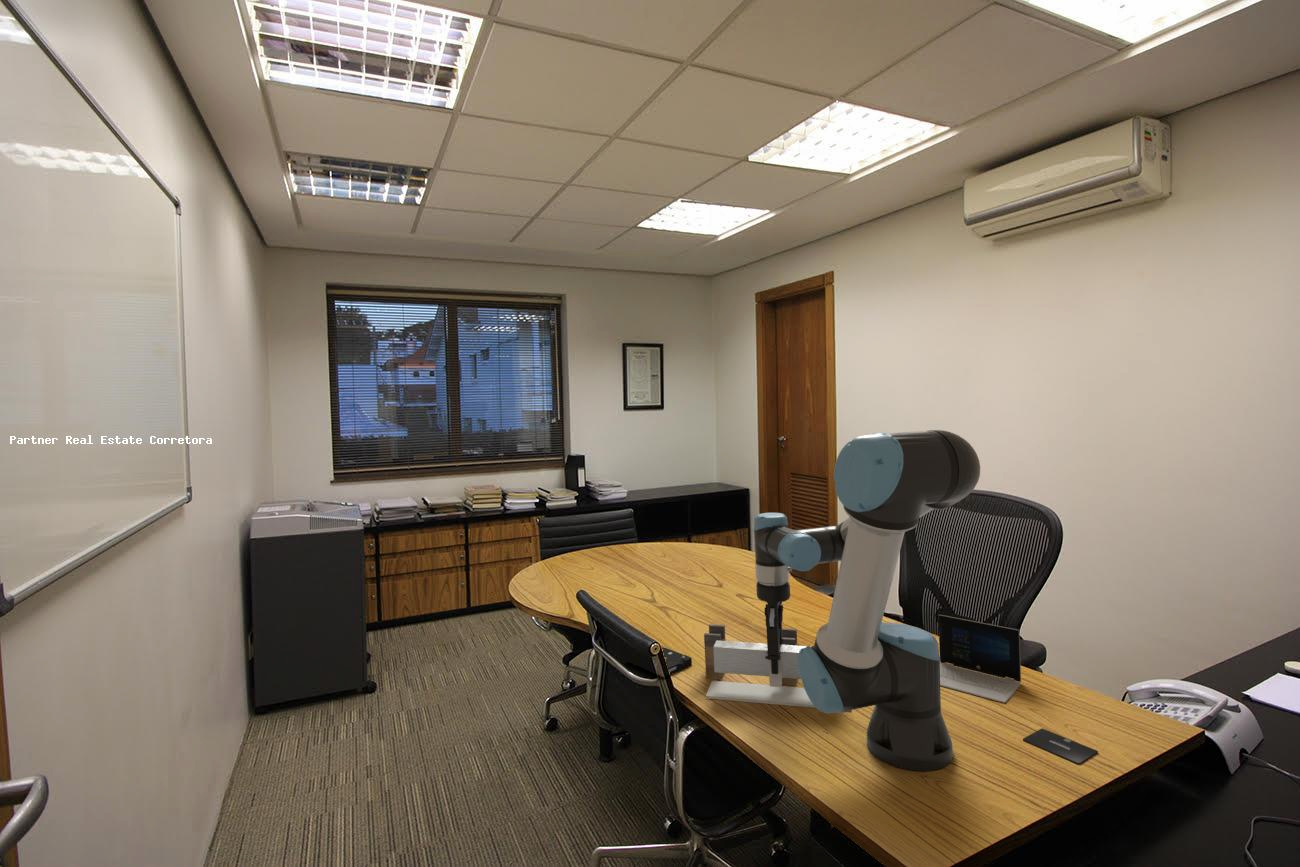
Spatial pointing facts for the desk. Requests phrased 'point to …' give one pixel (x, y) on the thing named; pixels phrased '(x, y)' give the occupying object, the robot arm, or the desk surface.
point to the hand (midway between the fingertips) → (776, 681)
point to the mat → (759, 694)
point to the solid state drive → (1060, 746)
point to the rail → (754, 659)
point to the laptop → (979, 658)
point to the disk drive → (676, 661)
